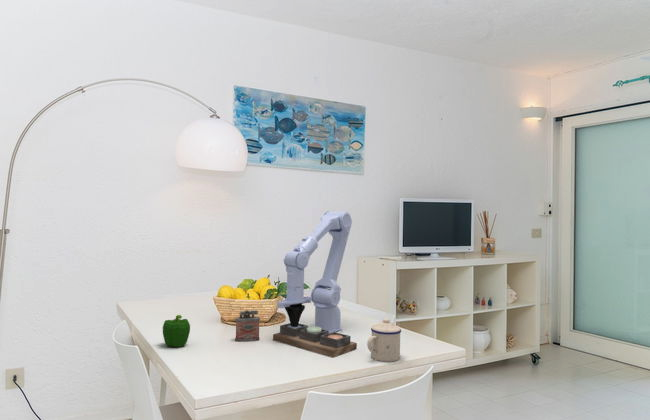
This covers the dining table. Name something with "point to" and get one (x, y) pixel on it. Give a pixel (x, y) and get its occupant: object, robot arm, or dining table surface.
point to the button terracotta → (335, 336)
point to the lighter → (247, 326)
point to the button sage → (314, 329)
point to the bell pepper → (176, 331)
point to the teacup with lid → (385, 341)
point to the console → (315, 340)
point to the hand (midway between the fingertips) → (294, 326)
